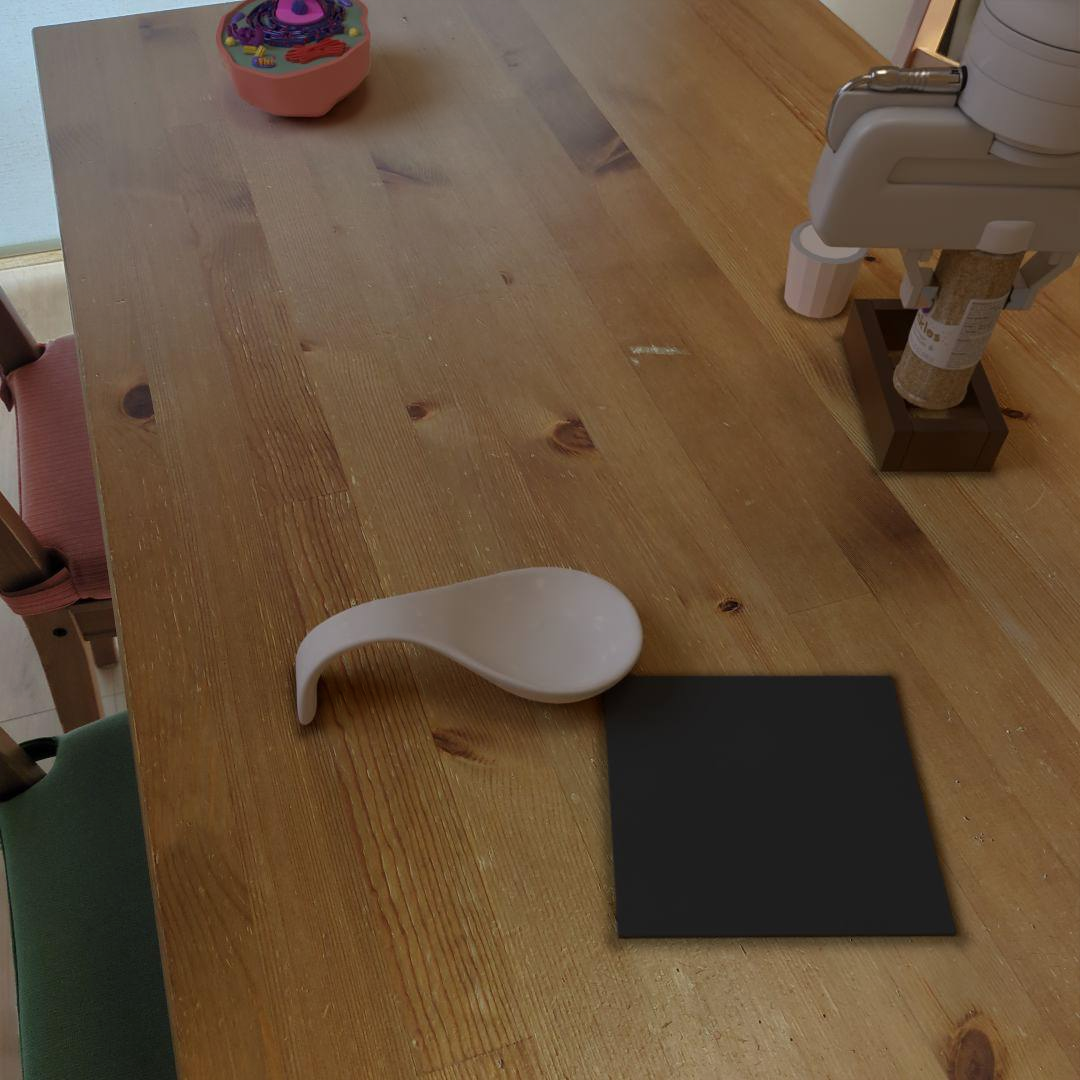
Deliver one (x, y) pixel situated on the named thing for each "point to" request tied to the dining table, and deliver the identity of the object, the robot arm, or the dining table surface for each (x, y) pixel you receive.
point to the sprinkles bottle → (960, 316)
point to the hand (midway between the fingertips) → (963, 303)
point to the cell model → (295, 53)
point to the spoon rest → (496, 633)
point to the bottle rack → (916, 440)
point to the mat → (768, 810)
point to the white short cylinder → (819, 273)
